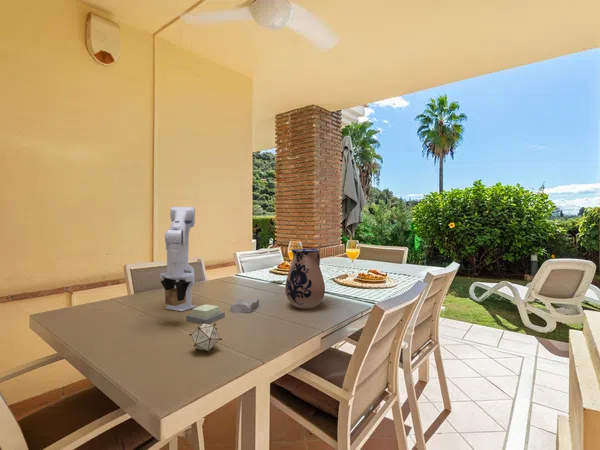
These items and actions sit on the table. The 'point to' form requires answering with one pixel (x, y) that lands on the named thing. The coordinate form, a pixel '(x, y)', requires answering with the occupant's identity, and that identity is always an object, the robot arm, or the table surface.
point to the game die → (205, 337)
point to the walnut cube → (173, 297)
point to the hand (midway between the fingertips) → (175, 299)
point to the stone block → (245, 305)
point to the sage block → (205, 311)
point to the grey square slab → (206, 320)
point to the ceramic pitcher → (305, 279)
